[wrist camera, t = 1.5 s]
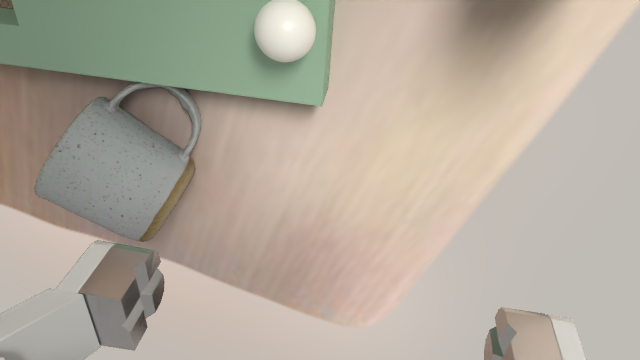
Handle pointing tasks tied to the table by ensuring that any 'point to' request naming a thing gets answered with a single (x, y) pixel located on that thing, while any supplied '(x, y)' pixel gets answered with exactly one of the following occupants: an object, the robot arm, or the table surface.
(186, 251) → the table surface
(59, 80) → the table surface
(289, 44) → the ball
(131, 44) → the putting strip
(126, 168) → the ceramic mug
